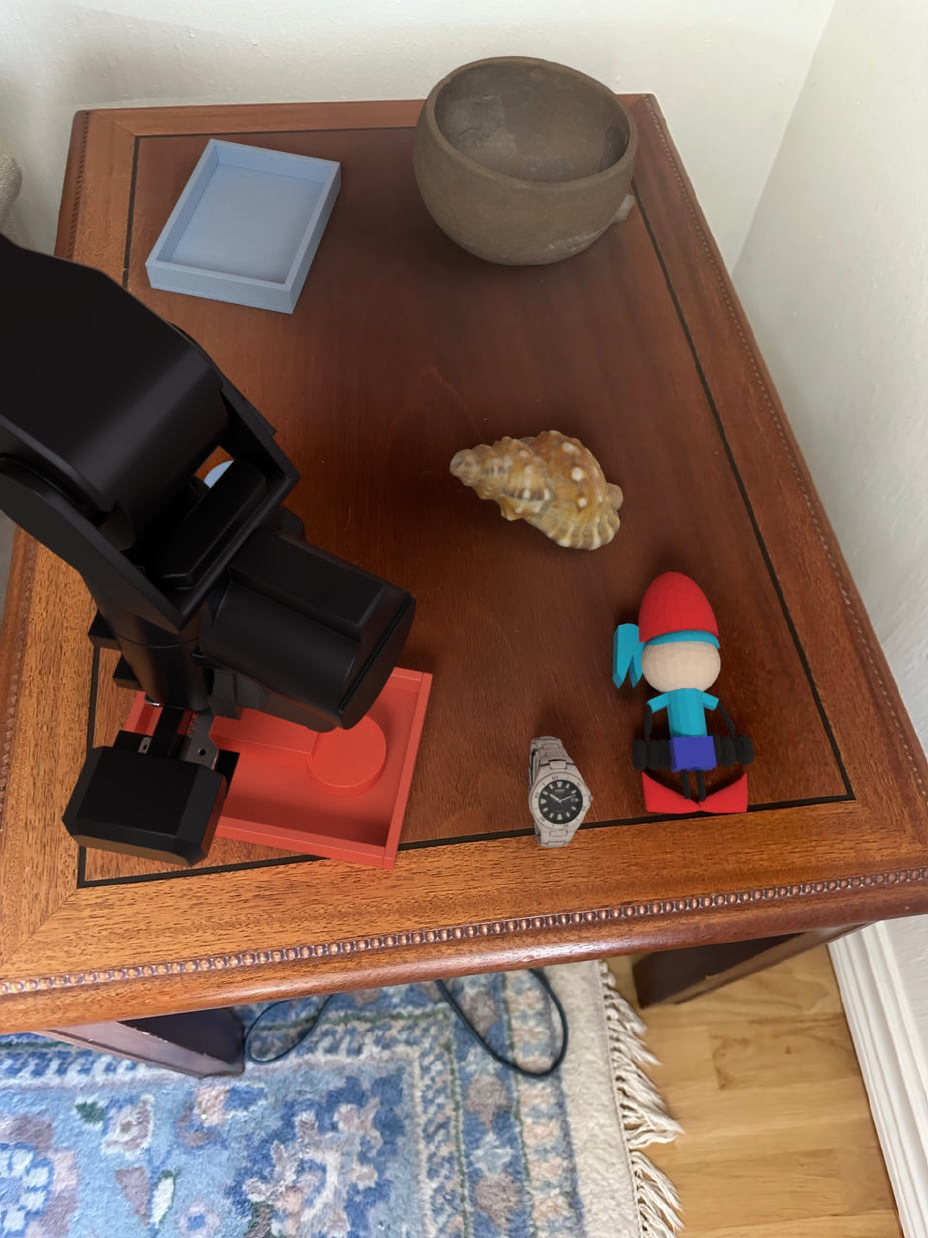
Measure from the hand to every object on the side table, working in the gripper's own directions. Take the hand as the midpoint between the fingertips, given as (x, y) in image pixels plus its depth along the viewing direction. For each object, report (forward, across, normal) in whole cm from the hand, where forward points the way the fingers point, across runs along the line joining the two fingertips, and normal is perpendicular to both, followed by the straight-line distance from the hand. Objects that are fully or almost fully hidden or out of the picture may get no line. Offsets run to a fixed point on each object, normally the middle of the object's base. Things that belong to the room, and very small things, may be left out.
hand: (222, 729), depth 51 cm
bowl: (+2, +50, -10) cm, 51 cm away
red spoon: (+1, 0, -3) cm, 4 cm away
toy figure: (+2, +8, -26) cm, 27 cm away
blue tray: (+2, +43, +11) cm, 44 cm away
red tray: (+2, 0, -3) cm, 3 cm away
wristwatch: (+2, 0, -19) cm, 19 cm away
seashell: (+2, +20, -16) cm, 26 cm away
